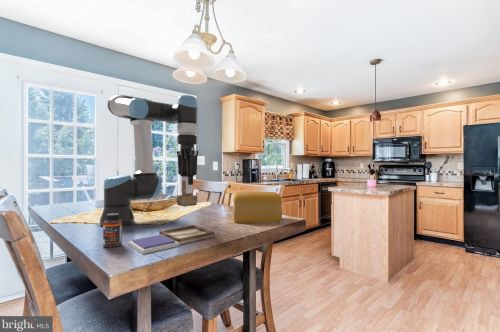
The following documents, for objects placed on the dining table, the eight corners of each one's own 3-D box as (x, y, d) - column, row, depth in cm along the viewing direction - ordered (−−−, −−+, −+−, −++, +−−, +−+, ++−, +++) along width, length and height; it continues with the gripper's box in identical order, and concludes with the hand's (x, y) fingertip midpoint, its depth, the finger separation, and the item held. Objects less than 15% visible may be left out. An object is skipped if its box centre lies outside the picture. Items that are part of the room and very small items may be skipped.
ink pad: (128, 244, 94) (128, 239, 94) (163, 238, 103) (163, 233, 103) (142, 254, 85) (142, 248, 85) (178, 245, 94) (178, 240, 94)
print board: (159, 235, 107) (159, 231, 107) (193, 229, 118) (193, 225, 118) (178, 244, 95) (178, 239, 95) (214, 236, 106) (214, 231, 106)
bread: (234, 223, 130) (234, 193, 130) (232, 218, 142) (233, 190, 142) (282, 222, 132) (282, 193, 132) (277, 217, 145) (277, 190, 145)
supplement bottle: (101, 249, 90) (102, 216, 89) (103, 244, 95) (103, 213, 95) (121, 246, 92) (121, 214, 92) (122, 242, 97) (122, 211, 97)
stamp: (176, 204, 106) (176, 180, 106) (189, 203, 110) (189, 180, 110) (183, 206, 102) (184, 181, 102) (197, 205, 106) (197, 181, 106)
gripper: (169, 135, 109) (169, 191, 110) (189, 132, 98) (188, 195, 98) (185, 136, 114) (185, 190, 115) (206, 133, 103) (205, 193, 103)
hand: (187, 192), depth 106 cm, fingers closed on stamp, 3 cm apart
